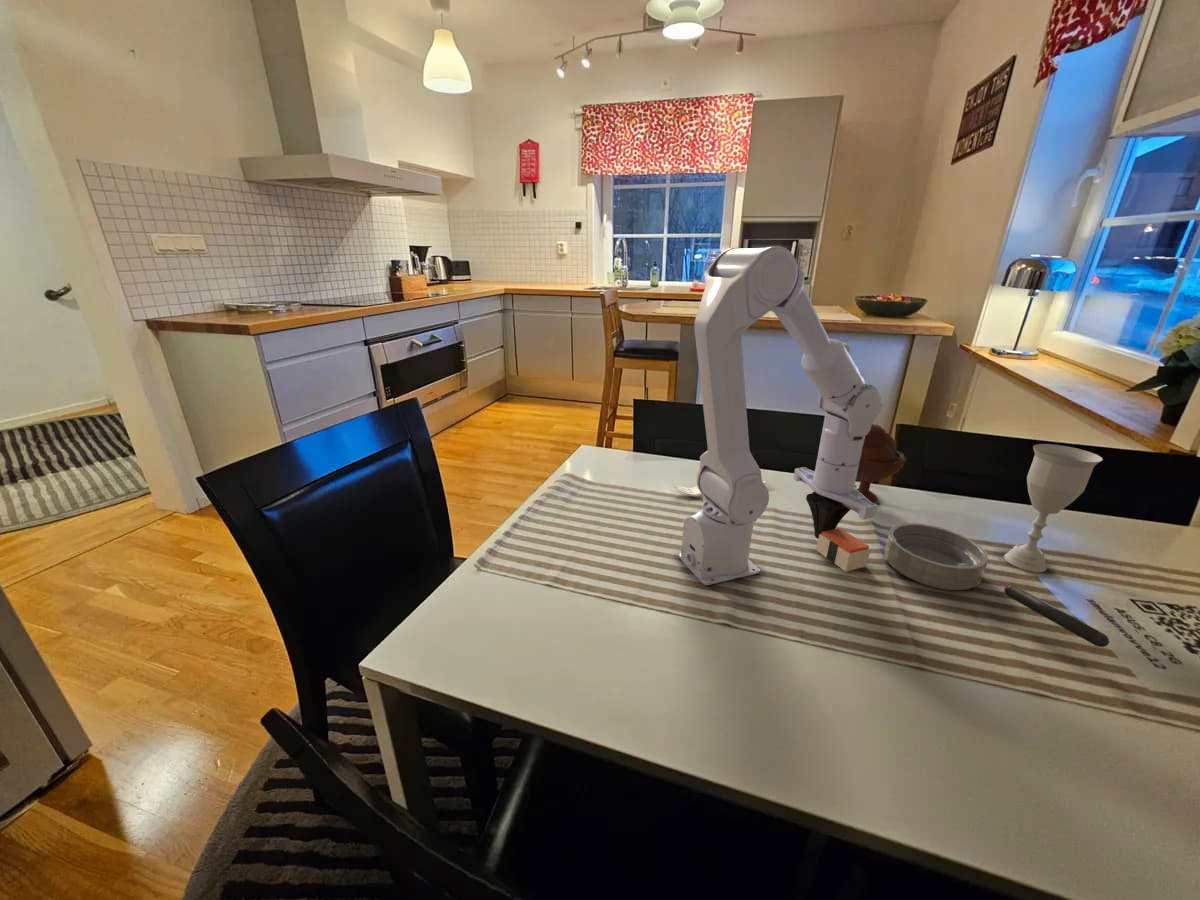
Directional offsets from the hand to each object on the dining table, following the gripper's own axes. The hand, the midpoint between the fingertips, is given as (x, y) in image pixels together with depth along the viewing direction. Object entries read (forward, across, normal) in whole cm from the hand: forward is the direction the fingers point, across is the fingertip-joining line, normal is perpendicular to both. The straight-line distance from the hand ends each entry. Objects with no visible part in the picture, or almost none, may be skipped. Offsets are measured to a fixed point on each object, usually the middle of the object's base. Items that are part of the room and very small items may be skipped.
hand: (822, 537), depth 78 cm
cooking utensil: (+1, +24, +10) cm, 26 cm away
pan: (+1, -10, -11) cm, 15 cm away
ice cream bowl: (+2, +11, -20) cm, 23 cm away
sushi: (+1, -4, 0) cm, 4 cm away
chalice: (+2, -14, -26) cm, 30 cm away
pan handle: (-1, -25, -11) cm, 28 cm away
